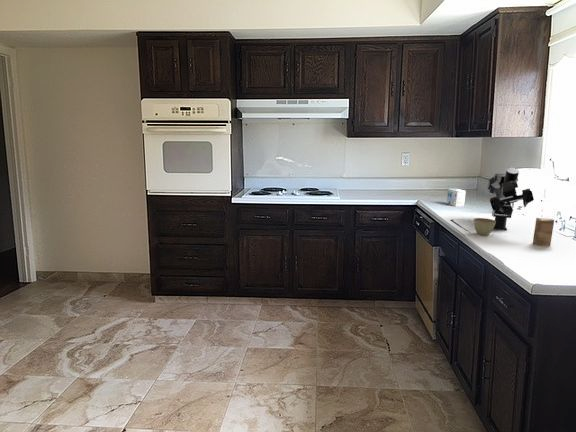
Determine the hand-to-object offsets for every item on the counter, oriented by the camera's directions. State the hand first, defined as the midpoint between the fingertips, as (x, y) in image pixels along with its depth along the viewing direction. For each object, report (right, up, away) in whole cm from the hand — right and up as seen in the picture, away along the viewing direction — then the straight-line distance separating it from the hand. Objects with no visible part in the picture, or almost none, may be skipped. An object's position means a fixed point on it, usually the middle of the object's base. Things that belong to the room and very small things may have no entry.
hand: (514, 208), depth 223 cm
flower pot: (-10, -12, +10) cm, 19 cm away
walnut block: (+10, -16, -6) cm, 20 cm away
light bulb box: (+7, +4, +98) cm, 98 cm away
